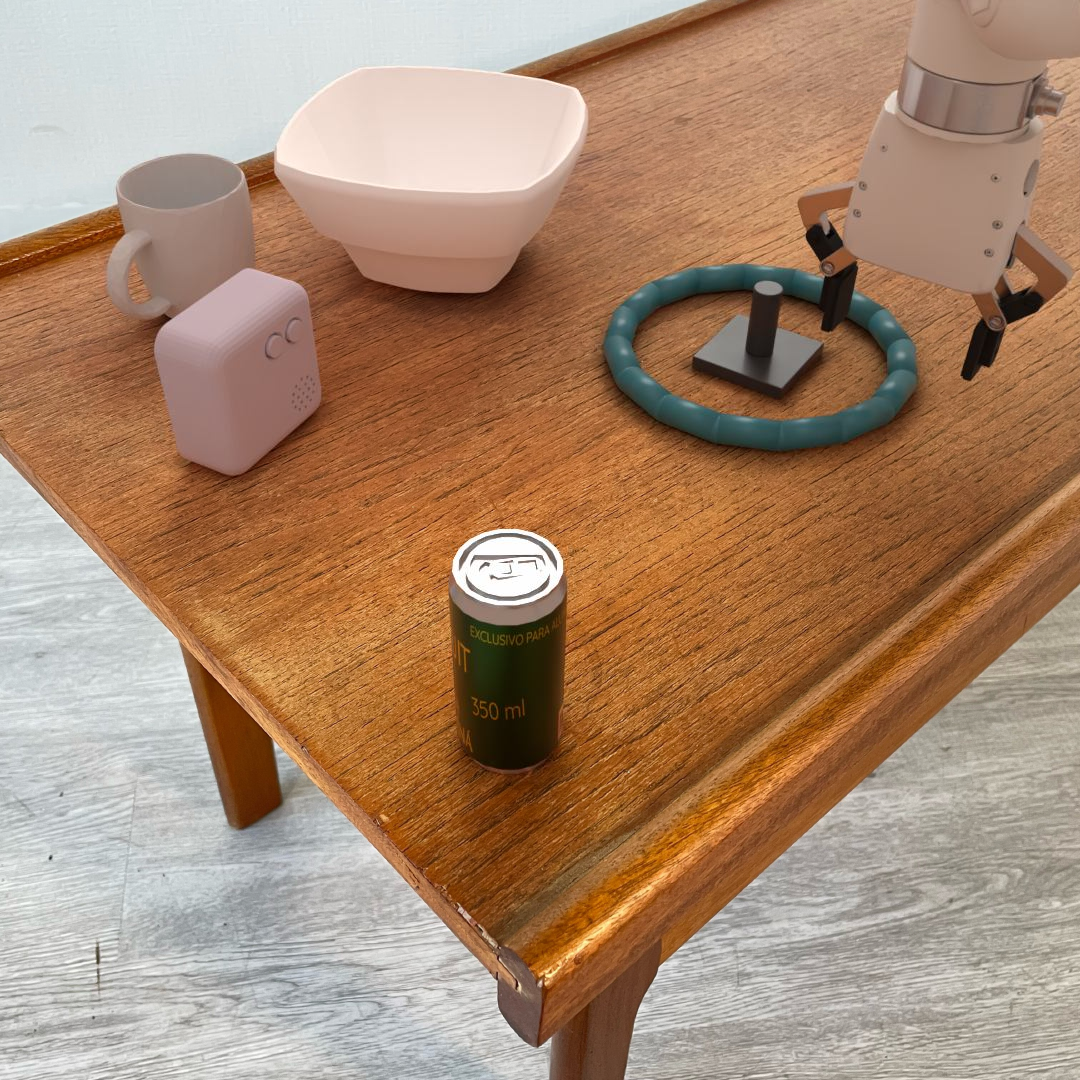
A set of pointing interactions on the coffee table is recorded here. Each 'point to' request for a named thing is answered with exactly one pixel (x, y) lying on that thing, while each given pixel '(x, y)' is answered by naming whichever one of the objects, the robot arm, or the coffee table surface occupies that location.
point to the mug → (180, 232)
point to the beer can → (508, 648)
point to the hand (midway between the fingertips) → (901, 345)
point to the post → (759, 348)
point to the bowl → (432, 169)
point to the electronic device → (239, 370)
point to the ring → (751, 428)
